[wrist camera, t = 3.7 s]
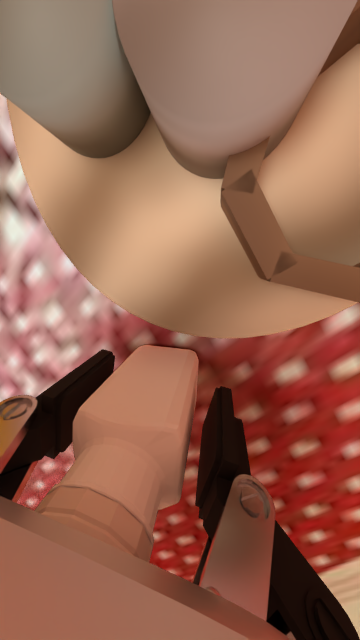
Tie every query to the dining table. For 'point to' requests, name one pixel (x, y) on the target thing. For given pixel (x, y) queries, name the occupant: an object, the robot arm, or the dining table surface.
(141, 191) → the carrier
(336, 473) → the dining table surface
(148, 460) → the salt shaker
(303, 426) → the dining table surface
